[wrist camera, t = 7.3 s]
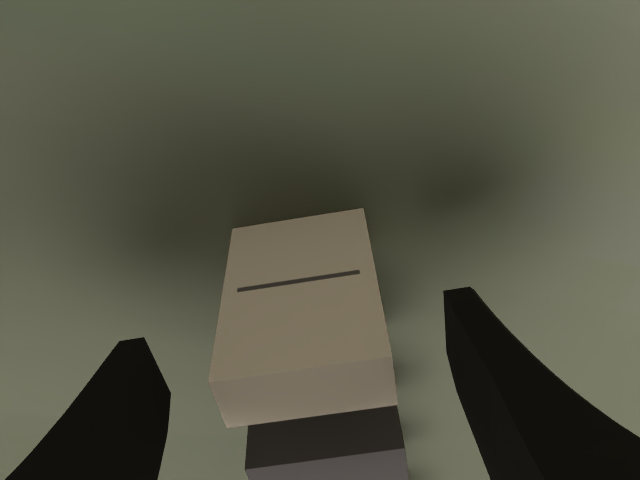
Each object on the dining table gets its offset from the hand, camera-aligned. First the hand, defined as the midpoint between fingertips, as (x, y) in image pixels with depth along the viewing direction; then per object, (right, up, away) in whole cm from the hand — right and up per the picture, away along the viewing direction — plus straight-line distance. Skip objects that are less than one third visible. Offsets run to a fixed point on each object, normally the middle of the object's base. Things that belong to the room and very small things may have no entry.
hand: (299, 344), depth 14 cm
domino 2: (0, 0, +6) cm, 6 cm away
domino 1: (0, +2, +4) cm, 5 cm away
